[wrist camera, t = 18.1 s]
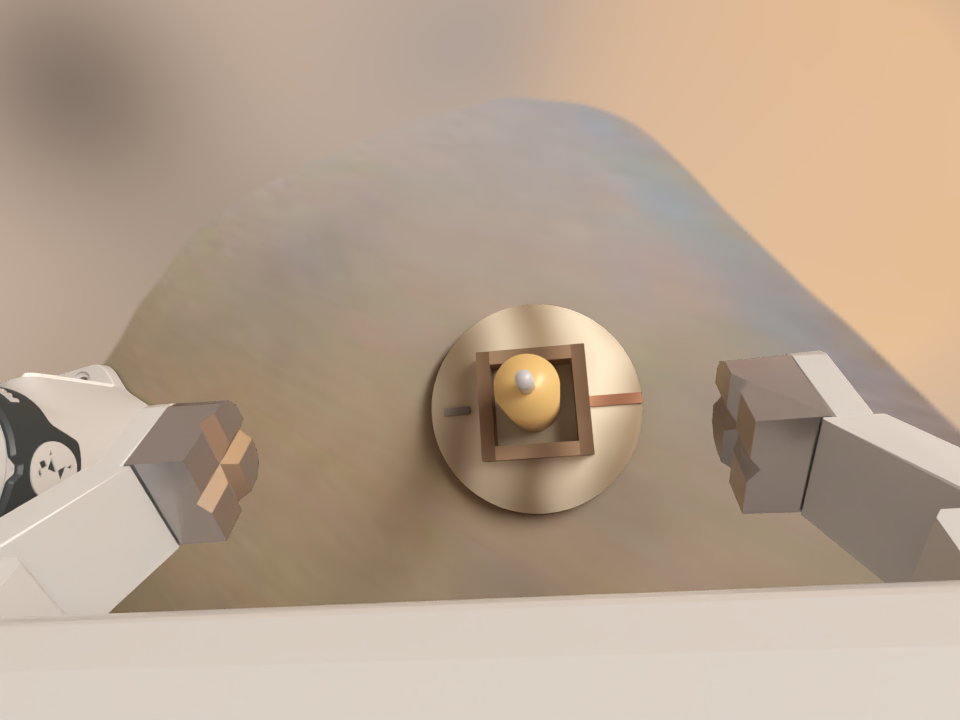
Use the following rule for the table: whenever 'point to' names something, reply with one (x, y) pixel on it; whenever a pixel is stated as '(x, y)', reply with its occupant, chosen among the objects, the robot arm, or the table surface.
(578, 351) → the dial plate
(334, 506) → the table surface
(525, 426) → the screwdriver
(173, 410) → the robot arm
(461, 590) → the table surface
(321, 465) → the table surface
